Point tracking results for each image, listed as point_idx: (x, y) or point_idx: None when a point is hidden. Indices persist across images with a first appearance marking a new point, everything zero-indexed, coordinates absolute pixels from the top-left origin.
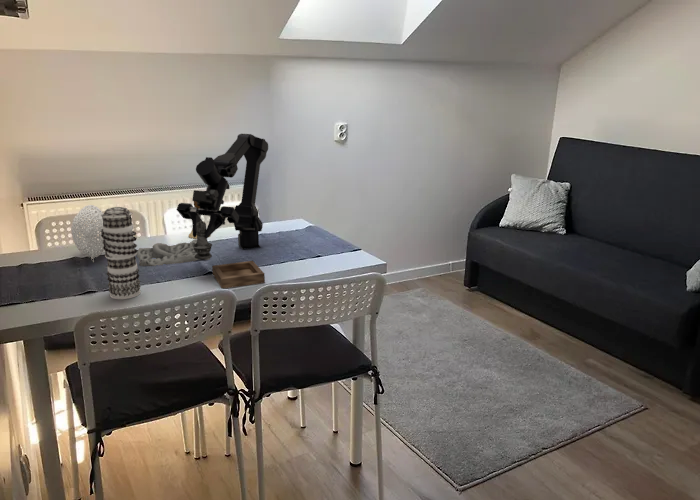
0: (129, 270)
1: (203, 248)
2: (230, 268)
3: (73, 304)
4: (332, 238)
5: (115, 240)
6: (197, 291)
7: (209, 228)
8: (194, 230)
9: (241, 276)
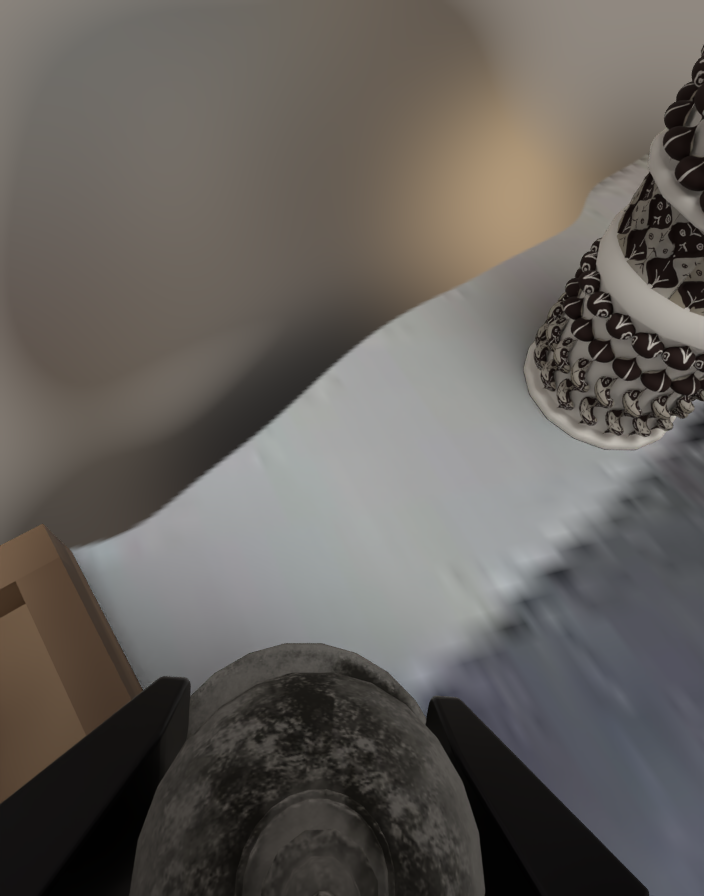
0: (607, 230)
1: (232, 664)
2: None
3: None
4: None
5: None
6: (231, 477)
7: (8, 804)
8: (475, 761)
9: None
